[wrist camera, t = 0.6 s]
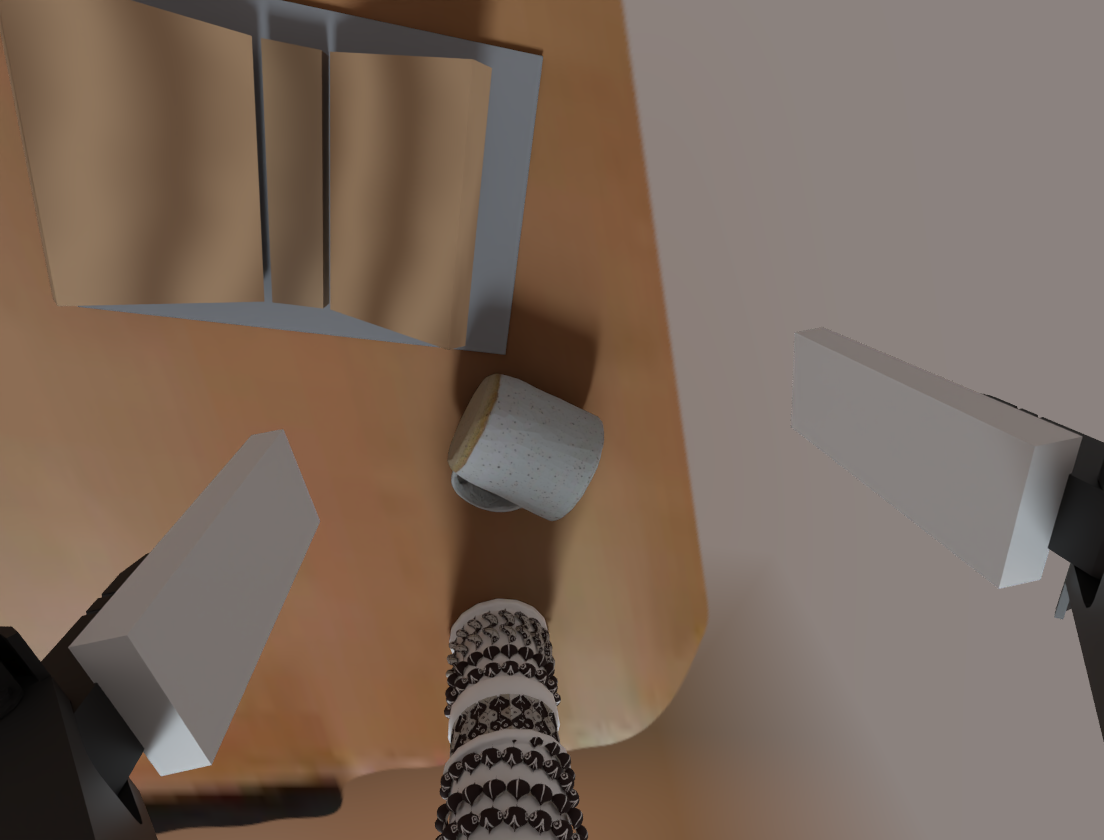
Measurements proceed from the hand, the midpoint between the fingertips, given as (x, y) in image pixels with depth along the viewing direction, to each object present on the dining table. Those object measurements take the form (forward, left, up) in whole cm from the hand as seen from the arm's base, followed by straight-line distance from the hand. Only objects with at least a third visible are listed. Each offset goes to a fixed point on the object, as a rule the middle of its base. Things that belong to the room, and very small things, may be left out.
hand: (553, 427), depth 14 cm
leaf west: (-18, +4, -19) cm, 27 cm away
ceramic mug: (+2, -11, -23) cm, 25 cm away
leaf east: (-6, +4, -19) cm, 20 cm away
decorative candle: (+3, -30, -23) cm, 38 cm away
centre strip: (-12, +4, -23) cm, 26 cm away
